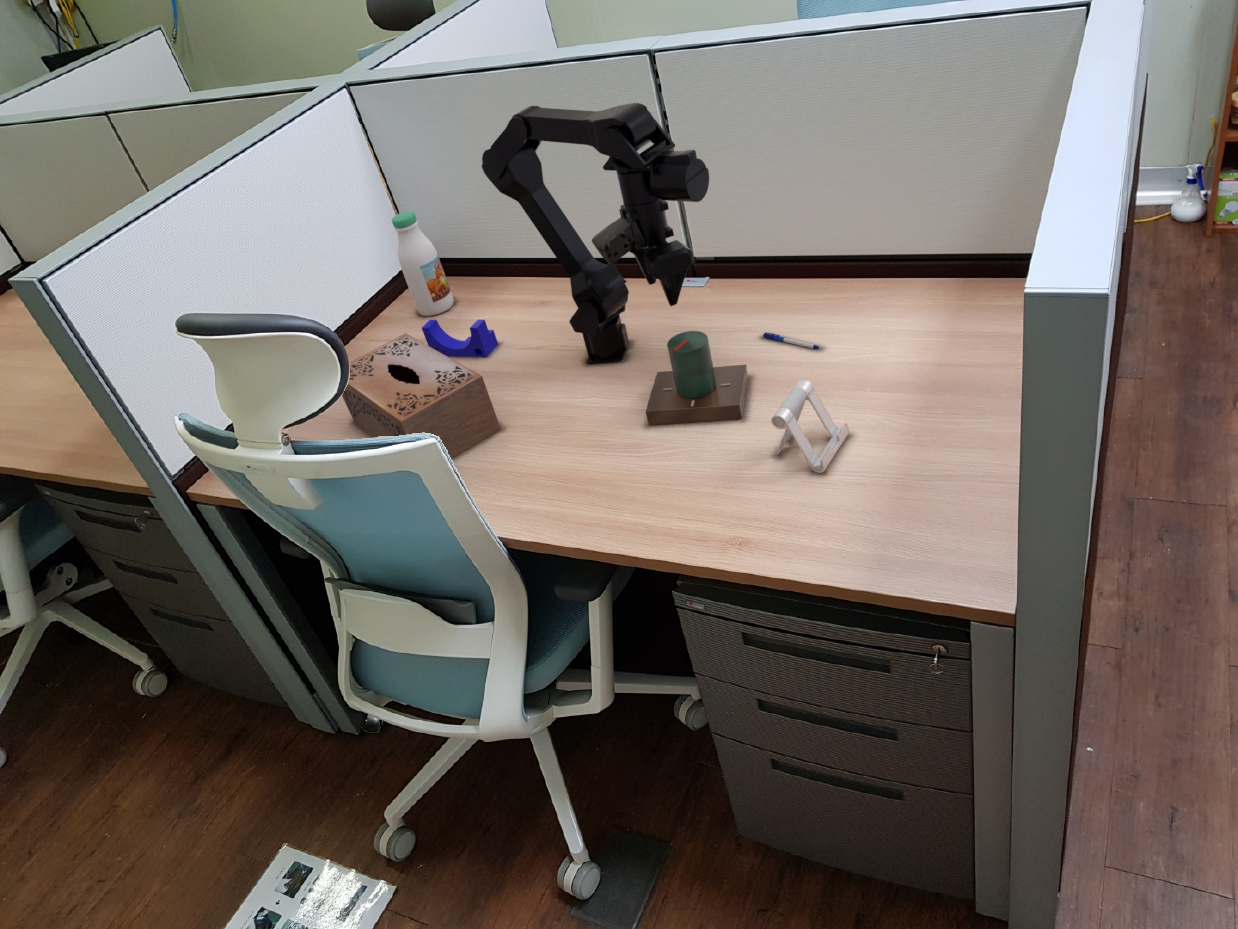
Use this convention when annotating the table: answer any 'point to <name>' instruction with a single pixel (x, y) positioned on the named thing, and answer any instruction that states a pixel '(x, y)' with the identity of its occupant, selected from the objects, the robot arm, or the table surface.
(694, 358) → the rotary knob
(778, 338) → the ballpoint pen
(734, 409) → the dial knob base plate
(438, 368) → the tissue box cover
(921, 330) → the table surface
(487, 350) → the cable clip
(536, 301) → the table surface
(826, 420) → the tablet stand
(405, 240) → the milk bottle
